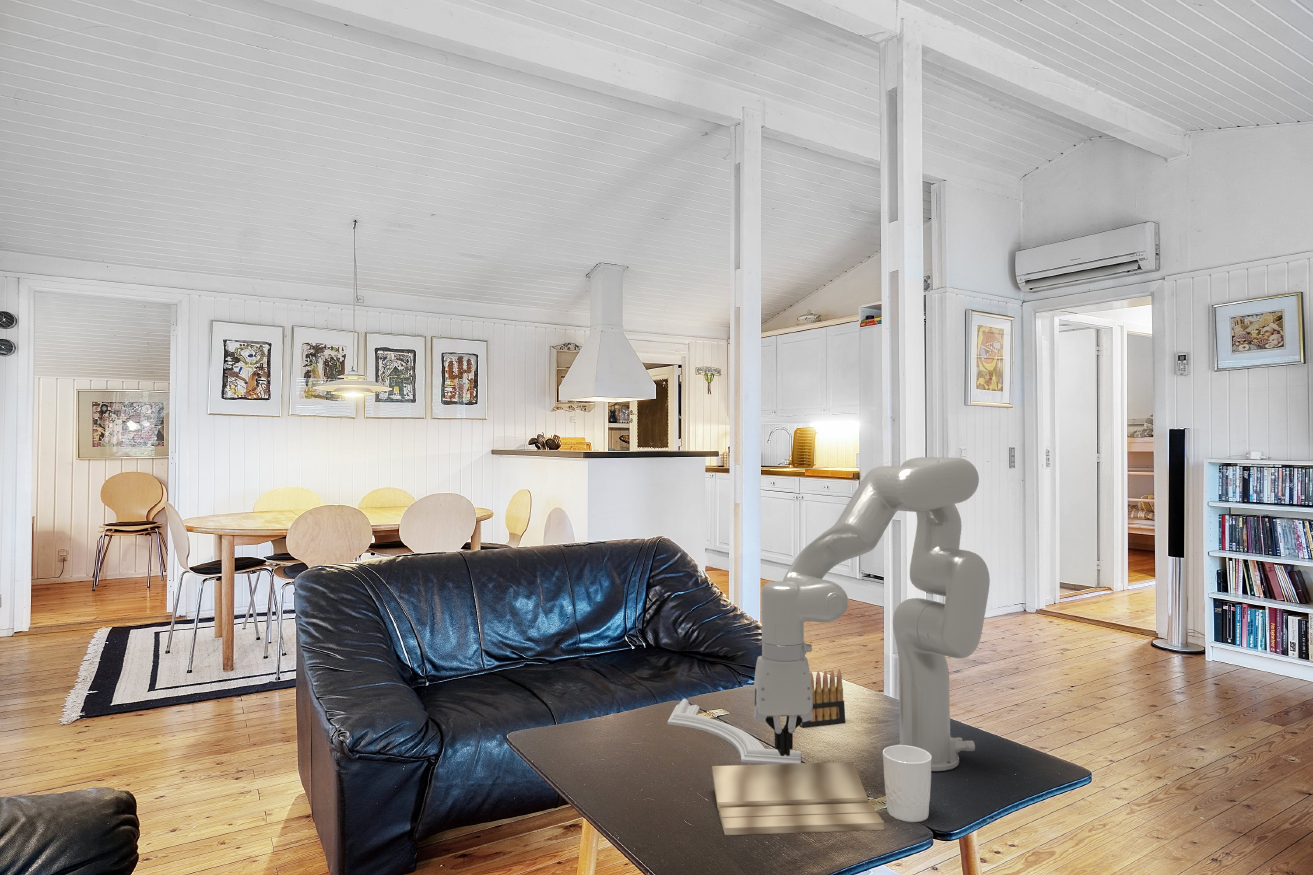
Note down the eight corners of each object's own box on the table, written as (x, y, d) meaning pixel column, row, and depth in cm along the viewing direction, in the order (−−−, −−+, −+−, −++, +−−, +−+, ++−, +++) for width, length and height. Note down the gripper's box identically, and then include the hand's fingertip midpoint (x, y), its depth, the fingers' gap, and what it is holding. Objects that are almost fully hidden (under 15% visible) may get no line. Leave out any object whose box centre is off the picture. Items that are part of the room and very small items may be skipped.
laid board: (870, 809, 132) (869, 802, 132) (884, 829, 125) (884, 821, 125) (719, 814, 130) (718, 807, 130) (724, 835, 123) (724, 827, 123)
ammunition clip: (841, 720, 176) (840, 667, 176) (845, 723, 174) (844, 669, 174) (798, 725, 173) (798, 671, 173) (802, 728, 171) (801, 673, 171)
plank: (852, 766, 141) (853, 761, 141) (867, 806, 133) (868, 800, 132) (711, 771, 140) (712, 765, 139) (718, 811, 131) (718, 805, 131)
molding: (815, 765, 152) (814, 750, 152) (768, 779, 145) (768, 764, 145) (689, 707, 187) (689, 695, 188) (647, 716, 181) (647, 703, 181)
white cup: (878, 802, 134) (877, 744, 135) (923, 802, 134) (923, 744, 134) (890, 824, 127) (889, 762, 127) (939, 824, 126) (938, 763, 127)
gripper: (818, 645, 144) (819, 744, 143) (738, 646, 143) (739, 746, 142) (829, 655, 136) (830, 760, 136) (745, 657, 135) (746, 762, 135)
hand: (783, 752), depth 139 cm, fingers closed
